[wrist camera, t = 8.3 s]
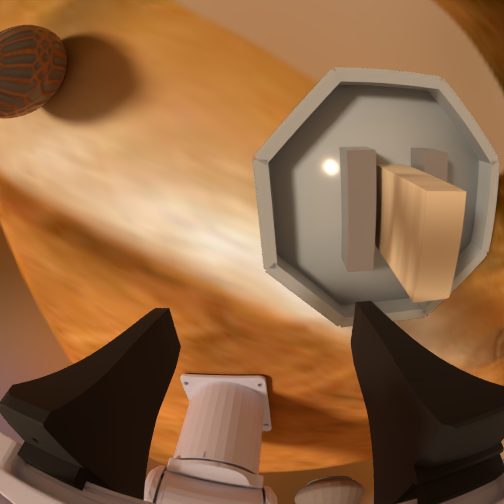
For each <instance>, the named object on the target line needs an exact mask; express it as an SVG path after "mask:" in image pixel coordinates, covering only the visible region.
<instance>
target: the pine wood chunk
mask: <svg viewBox="0 0 504 504" xmlns="http://www.w3.org/2000/svg"><path fill="white" fill-rule="evenodd" d="M465 202H466V191H464V190H462V189H460V188H458V187H456V186H454V185H452V184H450V183H447V182H445V181H443V180H441V179H439V178H436V177H434V176H432V175H429V174H427V173H425V172H422V171H420V170H418V169H415V168H413V167H410V166H408V165H405V164H376V229H375V246H376V247H377V248H378V250H379V251H380V253H381V254H382V256H383V257H384V259H385V260H386V262H387V263H388V265H389V266H390V268H391V269H392V271H393V272H394V274H395V275H396V277H397V278H398V280H399V281H400V283H401V284H402V286H403V288H404V289H405V291H406V292H407V294H408V295H409V297H410V299H411V300H412V302H413V303H417V302H425V301H432V300H439V299H446V298H449V296H450V292H451V288H452V283H453V279H454V274H455V269H456V264H457V259H458V254H459V248H460V242H461V235H462V228H463V220H464V212H465Z"/></svg>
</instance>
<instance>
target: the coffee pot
mask: <svg viewBox="0 0 504 504" xmlns="http://www.w3.org/2000/svg"><path fill="white" fill-rule="evenodd" d="M363 495H364V488H363V486H362V485H361V484H360V483H358V482H357V481H355V480H352V479H351V478H350V477H347V476H330V477H323V478H320V479H316V480H313V481H311V482H309V483H307V485H306V486H305V487H303V488H302V489H301V490H300V491H299V492H298V493H297V495H296V497H295V502H296V504H360V503H361V500H362V497H363Z"/></svg>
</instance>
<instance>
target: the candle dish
mask: <svg viewBox="0 0 504 504" xmlns="http://www.w3.org/2000/svg"><path fill="white" fill-rule="evenodd" d="M498 159H499V158H498V157H497V155H496V153H495V151H494V150H493V148H492V146H491V145H490V143H489V141H488V140H487V138H486V136H485V135H484V133H483V132H482V130H481V129H480V127H479V126H478V124H477V123H476V121H475V120H474V118H473V117H472V115H471V114H470V113H469V111H468V110H467V108H466V107H465V106H464V104H463V103H462V102H461V100H460V99H459V98H458V96H457V95H456V94H455V93H454V91H453V90H452V89H451V87H450V86H449V85H448V84H447V82H445V80H444V79H441V78H440V77H439V76H433V75H426V74H420V73H412V72H404V71H395V70H384V69H369V68H345V67H344V68H343V67H335V68H334V69H331V70H330V71H329V72H328V73H327V74H326V75H325V76H324V77H323V78H322V79H321V80H320V81H319V82H318V84H317V85H316V86H315V87H314V88H313V89H312V90H311V91H310V92H309V93H308V94H307V95H306V97H305V98H304V99H303V100H302V101H301V102H300V103H299V104H298V105H297V107H296V108H295V109H294V110H293V111H292V112H291V113H290V114H289V116H288V117H287V118H286V119H285V120H284V121H283V122H282V123H281V125H280V126H279V127H278V128H277V129H276V130H275V132H274V133H273V134H272V135H271V136H270V137H269V138H268V140H267V141H266V142H265V143H264V144H263V146H262V147H261V148H260V149H259V150H258V151H257V153H256V154H255V155H254V159H253V160H252V161H253V170H254V179H255V188H256V198H257V207H258V216H259V226H260V235H261V245H262V255H263V264H264V269H266V273H268V274H269V275H270V276H272V277H273V278H274V279H276V280H277V281H278V282H280V283H281V284H282V285H284V286H285V287H286V288H288V289H289V290H290V291H291V292H293V293H294V294H295V295H297V296H298V297H299V298H301V299H302V300H303V301H305V302H306V303H307V304H309V305H310V306H311V307H313V308H314V309H315V310H317V311H318V312H319V313H321V314H322V315H323V316H325V317H326V318H327V319H329V320H330V321H331V322H333V323H334V324H335V325H337V326H339V325H340V327H348V326H353V320H354V312H355V302H360V301H372V302H373V303H374V304H375V305H376V306H377V307H378V308H379V309H380V310H381V311H382V312H383V313H385V314H386V315H387V316H388V317H389V318H390V319H391V320H392V321H393V322H394V321H402V320H410V319H417V318H423V317H425V315H426V316H427V315H429V314H430V313H431V312H432V311H433V310H434V309H435V308H436V307H437V306H438V305H439V304H440V303H442V302H443V301H444V300H445V299H439V300H432V301H425V302H417V303H413V302H412V300H411V299H410V297H409V295H408V294H407V292H406V291H405V289H404V288H403V286H402V284H401V283H400V281H399V280H398V278H397V277H396V275H395V274H394V272H393V271H392V269H391V268H390V266H389V265H388V263H387V262H386V260H385V259H384V257H383V256H382V254H381V253H380V251H379V250H378V248H377V247H376V246H375V229H376V164H405V165H408V166H410V167H413V168H415V169H418V170H420V171H422V172H425V173H427V174H429V175H432V176H434V177H436V178H439V179H441V180H443V181H445V182H447V183H450V184H452V185H454V186H456V187H458V188H460V189H462V190H464V191H466V202H465V212H464V220H463V228H462V235H461V242H460V248H459V254H458V259H457V264H456V269H455V274H454V279H453V283H452V288H451V292H450V294H451V293H452V292H453V291H454V290H455V289H456V288H457V287H458V286H459V285H460V284H461V283H462V282H463V281H464V280H465V279H466V278H467V277H468V275H469V274H470V273H471V272H472V271H473V270H474V269H475V268H476V267H477V266H478V265H479V264H480V262H481V261H482V260H483V259H484V258H485V257H486V256H487V254H486V252H489V247H490V242H491V236H492V231H493V224H494V217H495V210H496V201H497V192H498V179H499V161H497V160H498Z"/></svg>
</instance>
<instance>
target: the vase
mask: <svg viewBox="0 0 504 504" xmlns="http://www.w3.org/2000/svg"><path fill="white" fill-rule="evenodd" d="M66 67H67V54H66V50H65V47H64V44H63V43H62V41H61V40H60V38H59V37H58V36H57V35H56V34H54V33H53V32H51V31H50V30H48V29H46V28H43V27H40V26H35V25H20V26H15V27H11V28H8V29H6V30H3V31H1V32H0V118H14V117H19V116H23V115H26V114H29V113H31V112H33V111H35V110H37V109H38V108H40V107H41V106H43V105H44V104H46V103H47V102H48V101H49V100H50V99H51V98H52V97H53V95H54V94H55V93H56V92H57V90H58V89H59V87H60V85H61V83H62V81H63V78H64V76H65V72H66Z"/></svg>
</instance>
